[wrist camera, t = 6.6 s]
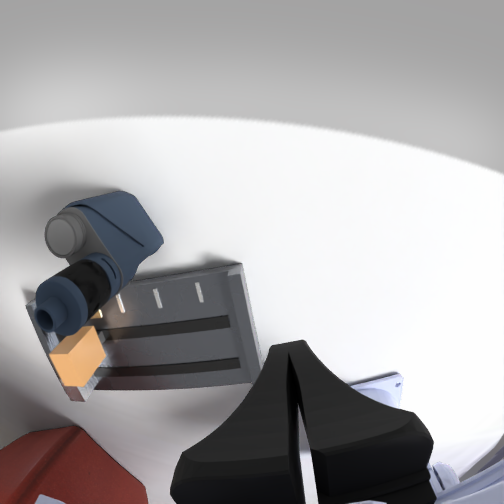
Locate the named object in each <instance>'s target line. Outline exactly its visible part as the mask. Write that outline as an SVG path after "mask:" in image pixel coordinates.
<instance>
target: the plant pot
mask: <svg viewBox="0 0 504 504" xmlns="http://www.w3.org/2000/svg"><path fill="white" fill-rule="evenodd" d="M39 495H45V496H48V497H50V498H53V499H56V500H59V501H62V502H64V503H65V504H148V498H147V494H146V489H145V486H144V485H143V484H142V483H140V482H139V481H138V480H137V479H135V478H134V477H133V476H132V475H131V474H129V473H128V472H127V471H126V470H125V469H124V468H122V467H121V466H120V465H119V464H118V463H117V462H116V461H114V460H113V459H112V458H111V457H110V456H109V455H108V454H107V453H106V452H105V451H104V450H103V449H102V448H101V447H100V446H99V445H97V444H96V443H95V442H94V441H93V440H92V439H91V438H90V437H89V436H88V435H87V434H86V432H85V431H83V430H82V429H81V428H79V427H76V426H69V427H64V428H57V429H51V430H44V431H37V432H30V433H28V434H26V435H24V436H22V437H20V438H19V439H17V440H15V441H14V442H12V443H11V444H9V445H7V446H6V447H4V448H3V449H1V450H0V504H35V502H36V500H37V499H38V497H39Z"/></svg>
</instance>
